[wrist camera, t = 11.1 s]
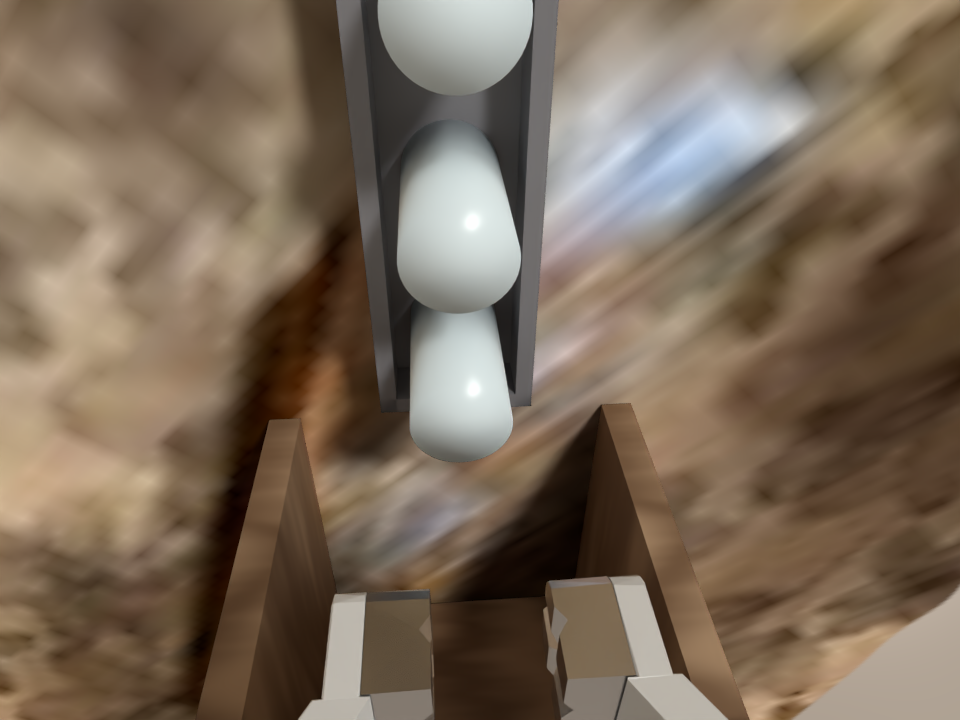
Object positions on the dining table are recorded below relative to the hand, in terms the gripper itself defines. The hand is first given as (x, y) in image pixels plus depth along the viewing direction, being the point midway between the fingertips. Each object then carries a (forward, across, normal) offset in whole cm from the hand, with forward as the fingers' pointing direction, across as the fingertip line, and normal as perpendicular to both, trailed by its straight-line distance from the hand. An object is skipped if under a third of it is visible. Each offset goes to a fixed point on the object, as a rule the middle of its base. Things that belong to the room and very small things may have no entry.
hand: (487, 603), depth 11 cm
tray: (+19, 0, 0) cm, 19 cm away
